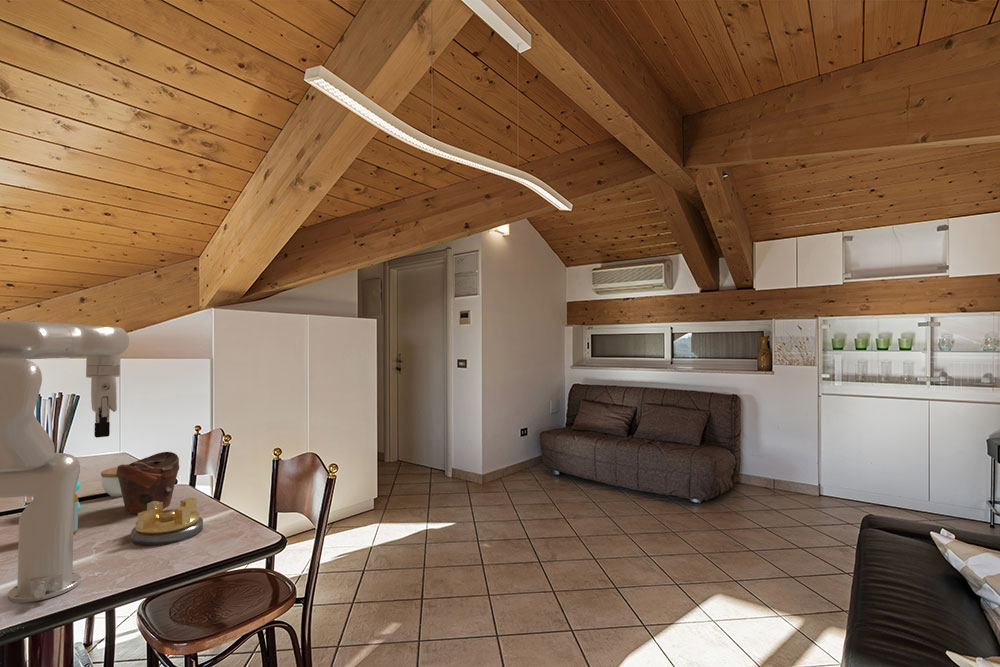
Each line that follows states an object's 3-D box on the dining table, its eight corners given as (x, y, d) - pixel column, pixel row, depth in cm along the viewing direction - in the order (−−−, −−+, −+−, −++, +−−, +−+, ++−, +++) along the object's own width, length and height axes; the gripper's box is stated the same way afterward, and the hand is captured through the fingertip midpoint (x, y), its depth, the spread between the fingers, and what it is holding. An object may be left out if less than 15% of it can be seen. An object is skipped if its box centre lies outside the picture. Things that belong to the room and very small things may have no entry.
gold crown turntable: (158, 538, 140) (158, 517, 140) (122, 529, 146) (123, 509, 146) (211, 520, 154) (211, 500, 154) (176, 512, 161) (177, 494, 161)
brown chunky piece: (106, 521, 160) (108, 464, 160) (123, 502, 178) (125, 452, 179) (171, 514, 167) (173, 460, 168) (182, 497, 185) (183, 449, 186)
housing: (209, 534, 150) (210, 514, 150) (136, 551, 137) (137, 529, 137) (194, 518, 163) (194, 500, 163) (126, 533, 150) (126, 513, 150)
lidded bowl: (119, 488, 195) (119, 460, 195) (150, 489, 195) (150, 460, 195) (91, 498, 183) (92, 468, 183) (124, 499, 182) (125, 469, 182)
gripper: (123, 372, 138) (122, 438, 138) (116, 370, 149) (114, 431, 149) (89, 373, 133) (87, 442, 133) (83, 371, 144) (82, 434, 144)
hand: (101, 436), depth 141 cm, fingers closed
